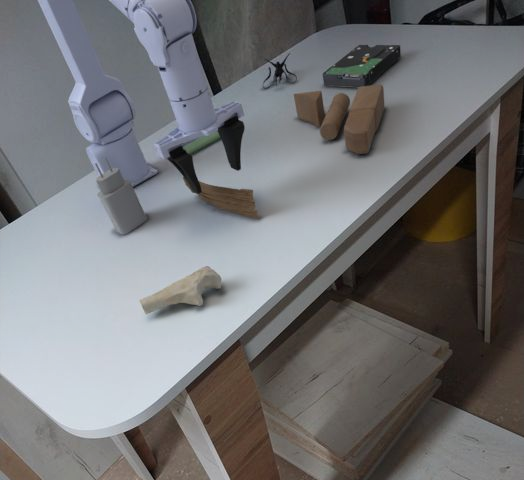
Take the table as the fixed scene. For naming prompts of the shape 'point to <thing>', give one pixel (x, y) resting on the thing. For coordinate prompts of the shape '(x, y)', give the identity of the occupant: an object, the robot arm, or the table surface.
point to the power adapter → (119, 200)
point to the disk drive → (361, 65)
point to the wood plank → (228, 199)
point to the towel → (201, 143)
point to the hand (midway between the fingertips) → (216, 179)
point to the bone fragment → (183, 290)
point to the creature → (278, 71)
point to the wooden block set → (358, 122)
